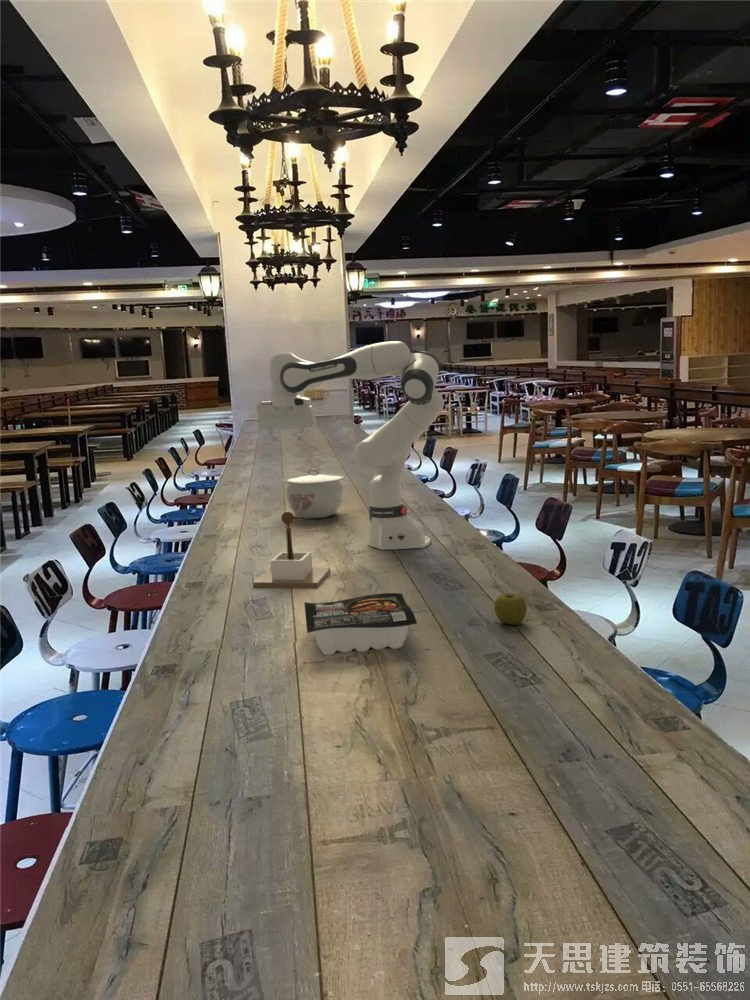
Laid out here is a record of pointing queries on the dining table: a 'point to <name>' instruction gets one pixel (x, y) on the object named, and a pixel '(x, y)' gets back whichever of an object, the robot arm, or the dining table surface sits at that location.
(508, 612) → the apple
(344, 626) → the food packaging
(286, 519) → the wooden tabletop sculpture
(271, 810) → the dining table surface
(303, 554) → the utensil holder
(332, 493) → the chamber pot
